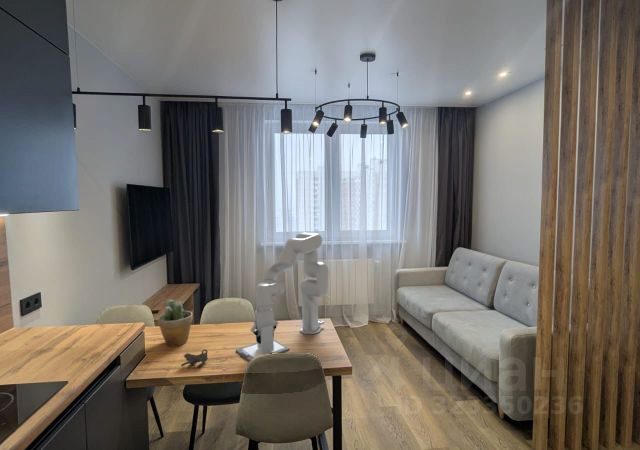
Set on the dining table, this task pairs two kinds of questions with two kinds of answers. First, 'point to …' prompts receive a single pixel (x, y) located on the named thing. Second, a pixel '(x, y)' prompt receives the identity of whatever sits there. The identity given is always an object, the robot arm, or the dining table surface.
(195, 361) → the dog figurine
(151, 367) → the dining table surface
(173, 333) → the potted plant
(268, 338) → the small box
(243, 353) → the writing board
